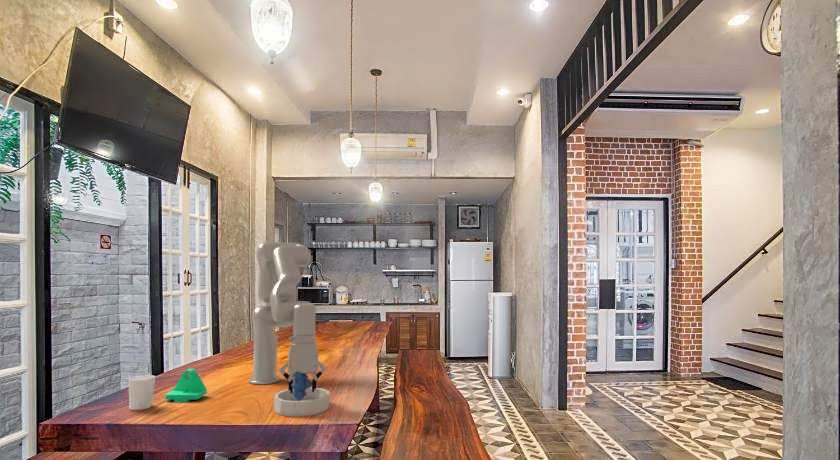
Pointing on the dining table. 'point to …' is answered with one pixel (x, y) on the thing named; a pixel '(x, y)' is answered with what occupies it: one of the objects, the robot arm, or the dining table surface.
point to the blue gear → (300, 385)
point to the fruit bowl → (302, 403)
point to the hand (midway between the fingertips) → (302, 391)
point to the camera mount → (187, 387)
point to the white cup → (141, 392)
